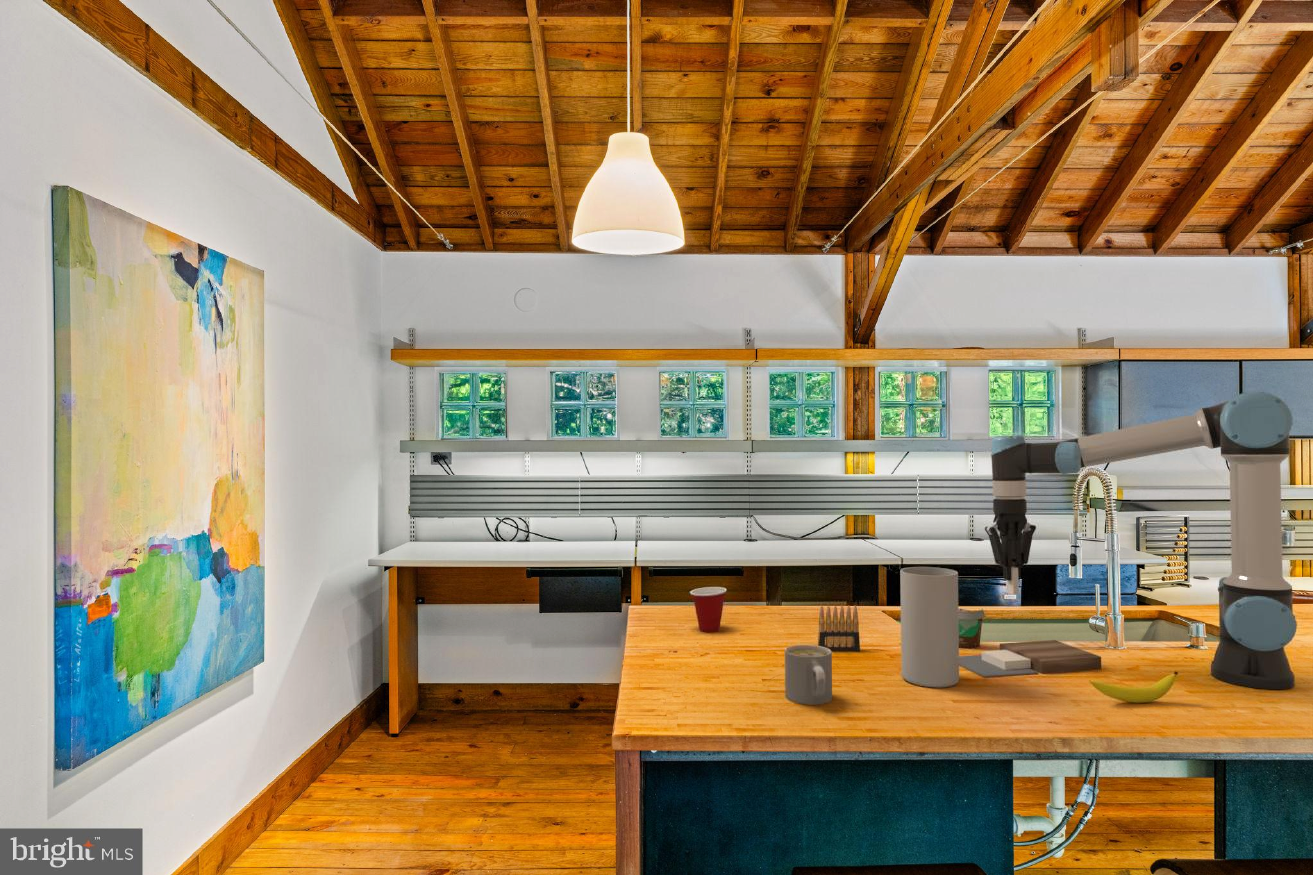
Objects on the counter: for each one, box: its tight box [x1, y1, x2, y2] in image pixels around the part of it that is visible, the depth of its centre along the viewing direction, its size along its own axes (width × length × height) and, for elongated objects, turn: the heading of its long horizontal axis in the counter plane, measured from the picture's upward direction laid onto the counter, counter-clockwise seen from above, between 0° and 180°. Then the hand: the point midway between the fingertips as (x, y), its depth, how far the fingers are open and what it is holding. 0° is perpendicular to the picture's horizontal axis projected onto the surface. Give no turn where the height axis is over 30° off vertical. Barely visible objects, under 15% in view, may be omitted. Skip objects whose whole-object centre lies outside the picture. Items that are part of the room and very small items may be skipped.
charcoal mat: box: [959, 654, 1039, 679], centre depth 188 cm, size 16×14×1 cm
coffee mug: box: [784, 644, 833, 706], centre depth 165 cm, size 13×10×10 cm
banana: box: [1088, 671, 1179, 704], centre depth 161 cm, size 3×19×6 cm, turn 93°
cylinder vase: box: [899, 566, 960, 689], centre depth 178 cm, size 12×12×25 cm
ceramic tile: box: [981, 649, 1031, 670], centre depth 189 cm, size 9×7×2 cm
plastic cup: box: [689, 586, 727, 633], centre depth 227 cm, size 11×11×12 cm
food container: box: [958, 608, 986, 650], centre depth 206 cm, size 12×6×10 cm, turn 62°
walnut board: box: [999, 639, 1102, 675], centre depth 191 cm, size 16×16×3 cm
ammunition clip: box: [817, 604, 861, 653], centre depth 203 cm, size 11×2×12 cm, turn 88°
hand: (1012, 593), depth 190 cm, fingers closed
